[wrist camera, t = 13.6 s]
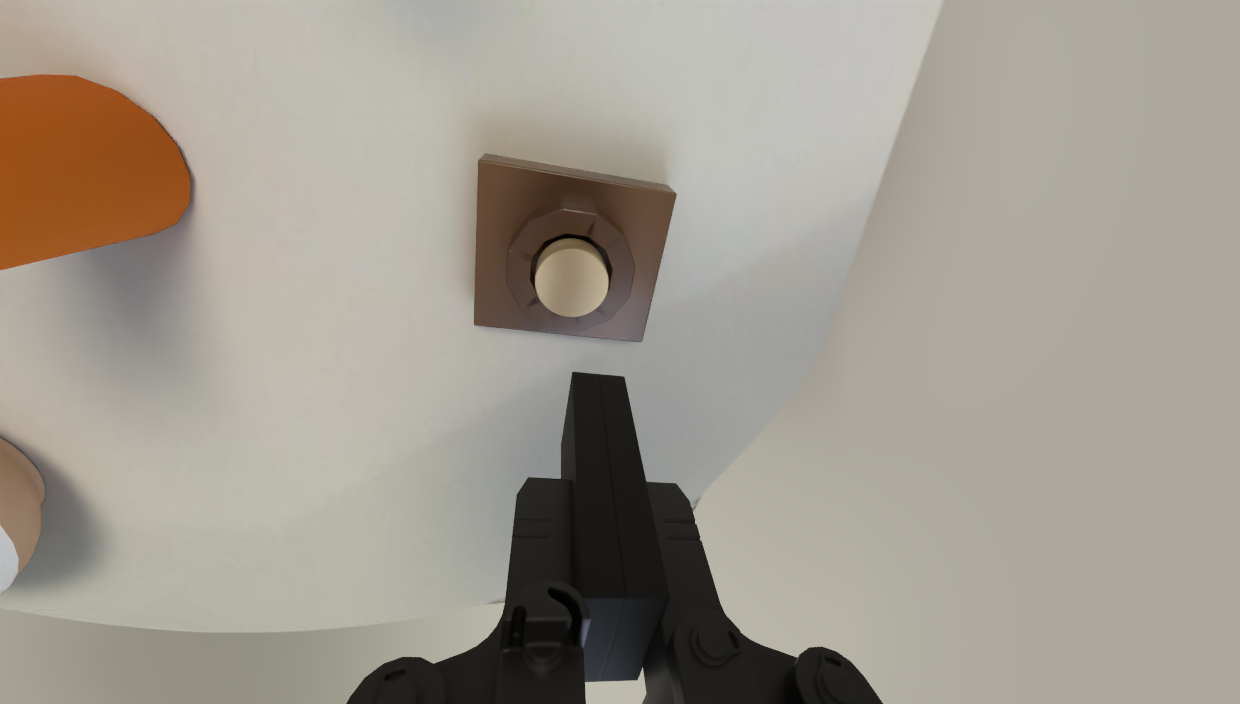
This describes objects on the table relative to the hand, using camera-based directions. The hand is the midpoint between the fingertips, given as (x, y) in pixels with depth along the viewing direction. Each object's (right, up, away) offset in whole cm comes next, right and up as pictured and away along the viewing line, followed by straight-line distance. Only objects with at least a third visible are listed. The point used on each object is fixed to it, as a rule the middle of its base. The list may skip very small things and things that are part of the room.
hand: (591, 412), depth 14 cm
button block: (-2, +8, +13) cm, 16 cm away
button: (-2, +6, +10) cm, 12 cm away
